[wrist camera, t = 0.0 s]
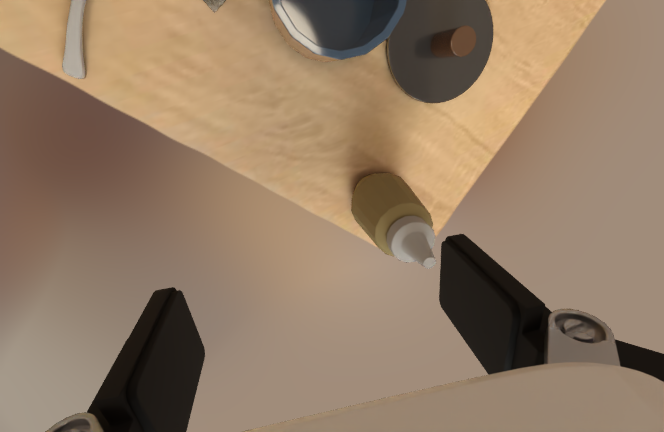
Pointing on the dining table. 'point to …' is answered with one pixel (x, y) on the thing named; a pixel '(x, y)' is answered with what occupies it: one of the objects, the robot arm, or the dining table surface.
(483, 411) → the robot arm
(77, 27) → the spoon
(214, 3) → the condiment
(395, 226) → the squeeze bottle
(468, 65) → the lid
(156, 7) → the dining table surface
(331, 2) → the pot
